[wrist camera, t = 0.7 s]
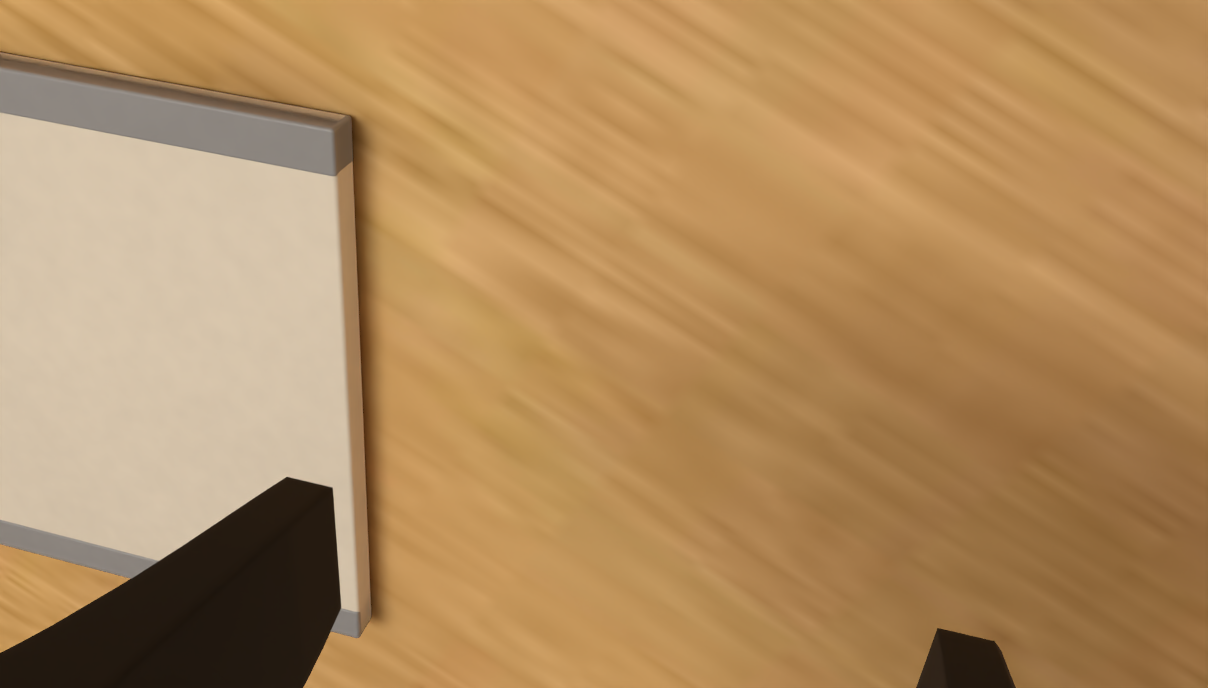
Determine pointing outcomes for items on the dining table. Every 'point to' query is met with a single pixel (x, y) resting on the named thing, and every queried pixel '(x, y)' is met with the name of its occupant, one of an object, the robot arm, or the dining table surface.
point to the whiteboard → (173, 317)
